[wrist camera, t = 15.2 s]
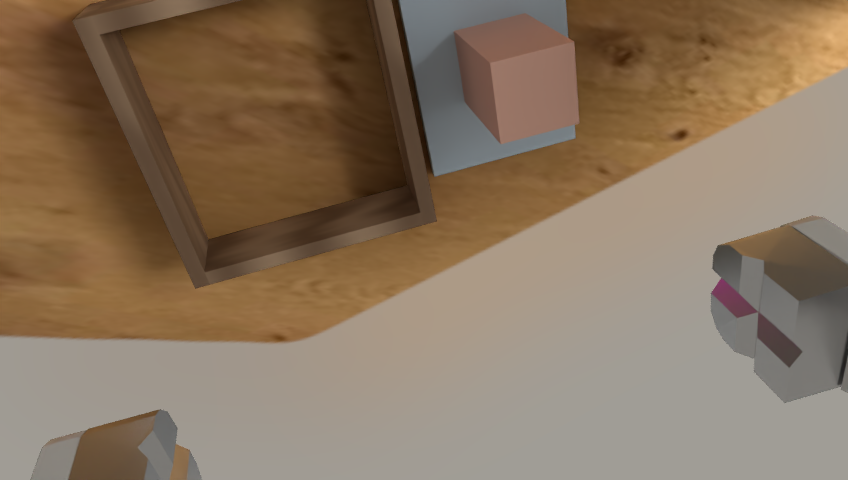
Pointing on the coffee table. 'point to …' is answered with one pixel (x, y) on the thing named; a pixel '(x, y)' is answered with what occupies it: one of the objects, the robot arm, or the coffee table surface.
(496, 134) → the block
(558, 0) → the mat
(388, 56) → the wooden frame
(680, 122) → the coffee table surface
